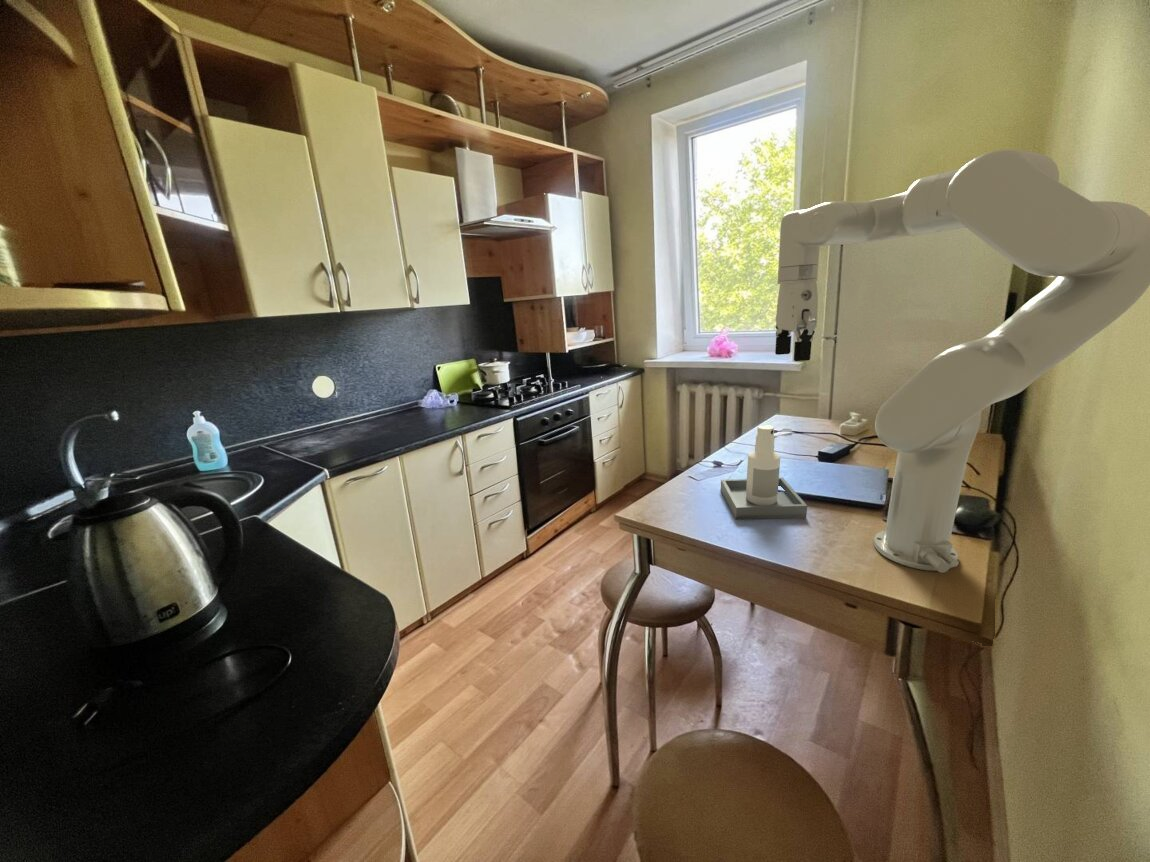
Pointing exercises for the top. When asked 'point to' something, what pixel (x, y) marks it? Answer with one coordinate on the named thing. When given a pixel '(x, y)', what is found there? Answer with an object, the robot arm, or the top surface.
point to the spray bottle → (763, 469)
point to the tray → (743, 509)
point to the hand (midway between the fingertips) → (791, 357)
